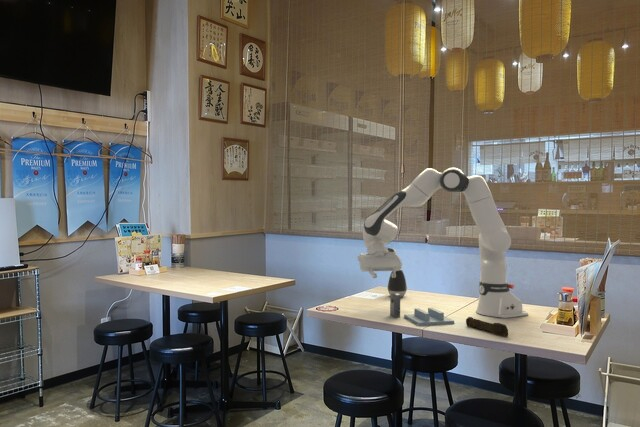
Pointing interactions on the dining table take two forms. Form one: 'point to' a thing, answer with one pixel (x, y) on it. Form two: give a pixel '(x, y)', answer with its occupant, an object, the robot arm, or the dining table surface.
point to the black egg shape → (397, 284)
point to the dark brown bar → (488, 326)
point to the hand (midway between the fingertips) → (384, 277)
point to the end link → (395, 305)
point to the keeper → (428, 317)
